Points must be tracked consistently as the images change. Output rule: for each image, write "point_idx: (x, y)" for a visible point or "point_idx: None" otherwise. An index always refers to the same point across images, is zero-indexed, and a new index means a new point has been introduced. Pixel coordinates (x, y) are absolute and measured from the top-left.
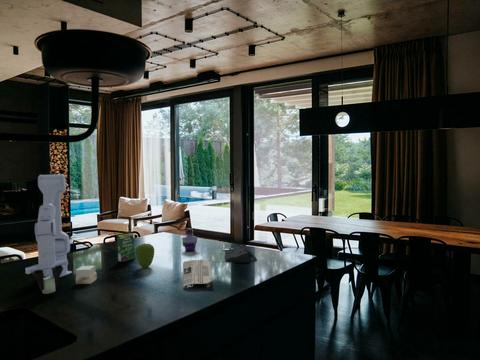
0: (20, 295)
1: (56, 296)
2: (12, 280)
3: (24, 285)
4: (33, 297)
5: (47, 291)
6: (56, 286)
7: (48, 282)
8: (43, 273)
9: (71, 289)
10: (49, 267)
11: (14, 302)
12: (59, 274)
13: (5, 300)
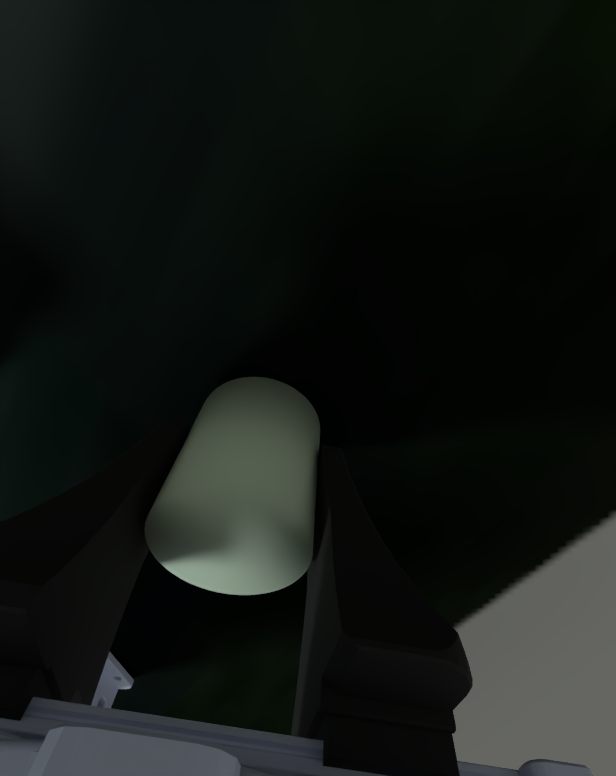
0: (437, 541)
1: (305, 205)
2: (273, 724)
3: (285, 647)
4: (437, 418)
5: (298, 406)
6: (180, 419)
7: (271, 471)
8: (352, 636)
9: (64, 268)
10: (216, 763)
11: (598, 454)
12: (61, 507)
13: (565, 544)
